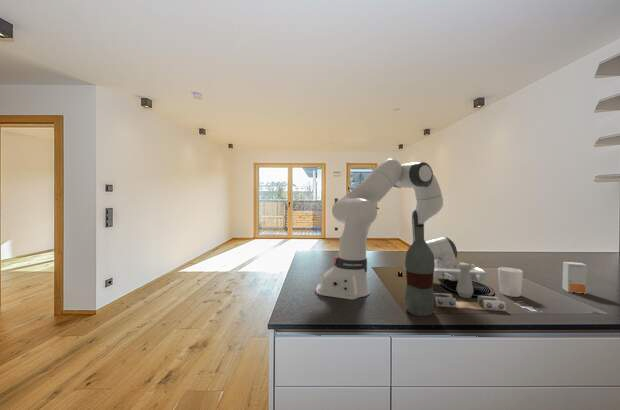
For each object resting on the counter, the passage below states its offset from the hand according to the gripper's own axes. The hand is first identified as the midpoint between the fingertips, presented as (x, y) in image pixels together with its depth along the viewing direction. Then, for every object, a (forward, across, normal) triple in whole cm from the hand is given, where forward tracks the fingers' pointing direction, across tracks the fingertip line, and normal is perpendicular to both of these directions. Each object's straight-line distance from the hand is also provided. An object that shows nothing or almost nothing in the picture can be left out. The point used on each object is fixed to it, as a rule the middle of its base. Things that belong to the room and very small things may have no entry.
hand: (465, 279), depth 100 cm
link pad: (+9, -3, +7) cm, 12 cm away
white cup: (-7, +19, +7) cm, 21 cm away
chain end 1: (+9, -11, +7) cm, 16 cm away
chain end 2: (+9, +5, +7) cm, 13 cm away
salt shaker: (-1, 0, +7) cm, 7 cm away
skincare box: (-15, +47, +7) cm, 50 cm away
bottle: (+17, -21, +7) cm, 28 cm away
